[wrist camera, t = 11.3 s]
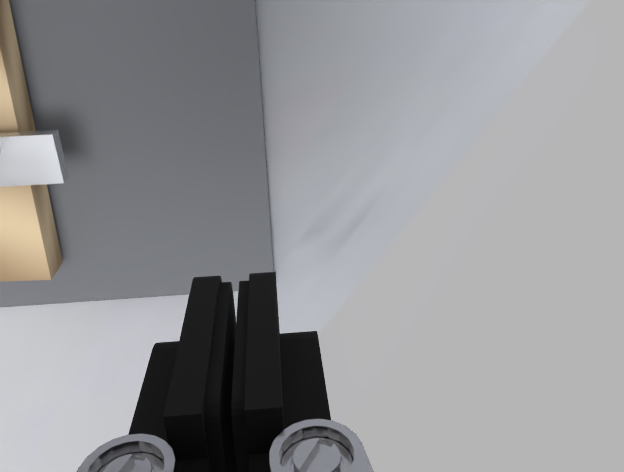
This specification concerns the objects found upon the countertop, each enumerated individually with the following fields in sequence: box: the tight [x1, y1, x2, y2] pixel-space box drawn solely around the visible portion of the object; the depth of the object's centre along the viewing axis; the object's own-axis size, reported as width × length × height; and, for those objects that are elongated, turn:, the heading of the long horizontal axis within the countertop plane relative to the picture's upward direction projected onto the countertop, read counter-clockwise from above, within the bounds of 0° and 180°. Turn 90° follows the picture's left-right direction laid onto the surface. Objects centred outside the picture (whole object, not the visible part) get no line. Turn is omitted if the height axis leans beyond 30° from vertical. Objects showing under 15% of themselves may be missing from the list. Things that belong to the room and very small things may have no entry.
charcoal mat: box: [0, 0, 274, 307], centre depth 30 cm, size 20×18×1 cm
